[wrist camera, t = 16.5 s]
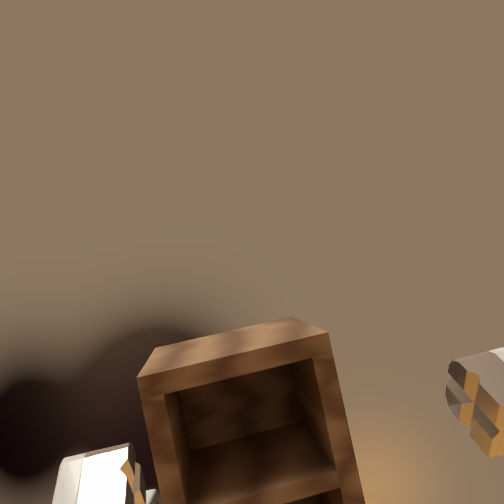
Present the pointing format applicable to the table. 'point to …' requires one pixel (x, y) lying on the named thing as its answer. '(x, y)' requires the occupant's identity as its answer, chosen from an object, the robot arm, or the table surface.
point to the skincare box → (151, 497)
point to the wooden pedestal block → (250, 418)
